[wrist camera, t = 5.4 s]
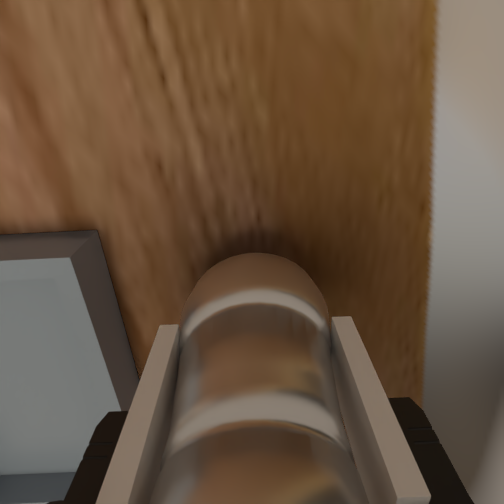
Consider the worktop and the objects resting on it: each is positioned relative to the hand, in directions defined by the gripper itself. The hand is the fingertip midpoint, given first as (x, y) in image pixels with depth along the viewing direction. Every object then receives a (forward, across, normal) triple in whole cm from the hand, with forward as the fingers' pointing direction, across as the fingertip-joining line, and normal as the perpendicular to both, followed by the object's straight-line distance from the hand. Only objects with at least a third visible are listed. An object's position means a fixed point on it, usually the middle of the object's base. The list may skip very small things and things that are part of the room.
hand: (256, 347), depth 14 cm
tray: (+6, +14, +7) cm, 17 cm away
